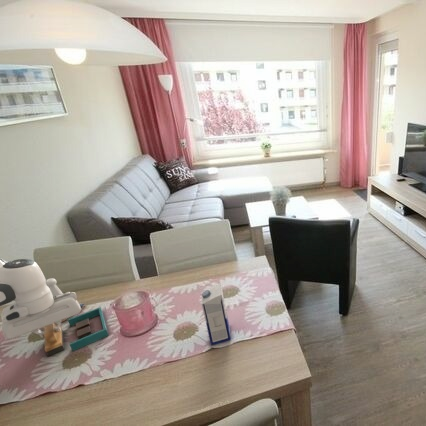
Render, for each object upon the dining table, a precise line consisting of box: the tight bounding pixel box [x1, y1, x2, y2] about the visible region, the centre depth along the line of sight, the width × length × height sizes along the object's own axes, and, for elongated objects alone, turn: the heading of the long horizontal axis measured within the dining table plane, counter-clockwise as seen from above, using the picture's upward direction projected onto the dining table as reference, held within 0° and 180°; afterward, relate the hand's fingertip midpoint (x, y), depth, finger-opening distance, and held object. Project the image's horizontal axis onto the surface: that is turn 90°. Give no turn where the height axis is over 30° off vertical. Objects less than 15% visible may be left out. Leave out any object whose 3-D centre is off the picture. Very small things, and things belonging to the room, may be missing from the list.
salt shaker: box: [46, 277, 64, 296], centre depth 127 cm, size 6×6×13 cm
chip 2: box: [76, 326, 93, 340], centre depth 110 cm, size 4×4×2 cm
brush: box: [43, 323, 65, 357], centre depth 106 cm, size 4×12×7 cm, turn 41°
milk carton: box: [201, 283, 232, 346], centre depth 104 cm, size 7×7×20 cm
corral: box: [67, 306, 109, 352], centre depth 113 cm, size 11×18×3 cm, turn 41°
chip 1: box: [75, 319, 92, 332], centre depth 114 cm, size 4×4×2 cm
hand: (51, 333), depth 106 cm, fingers closed on brush, 2 cm apart
